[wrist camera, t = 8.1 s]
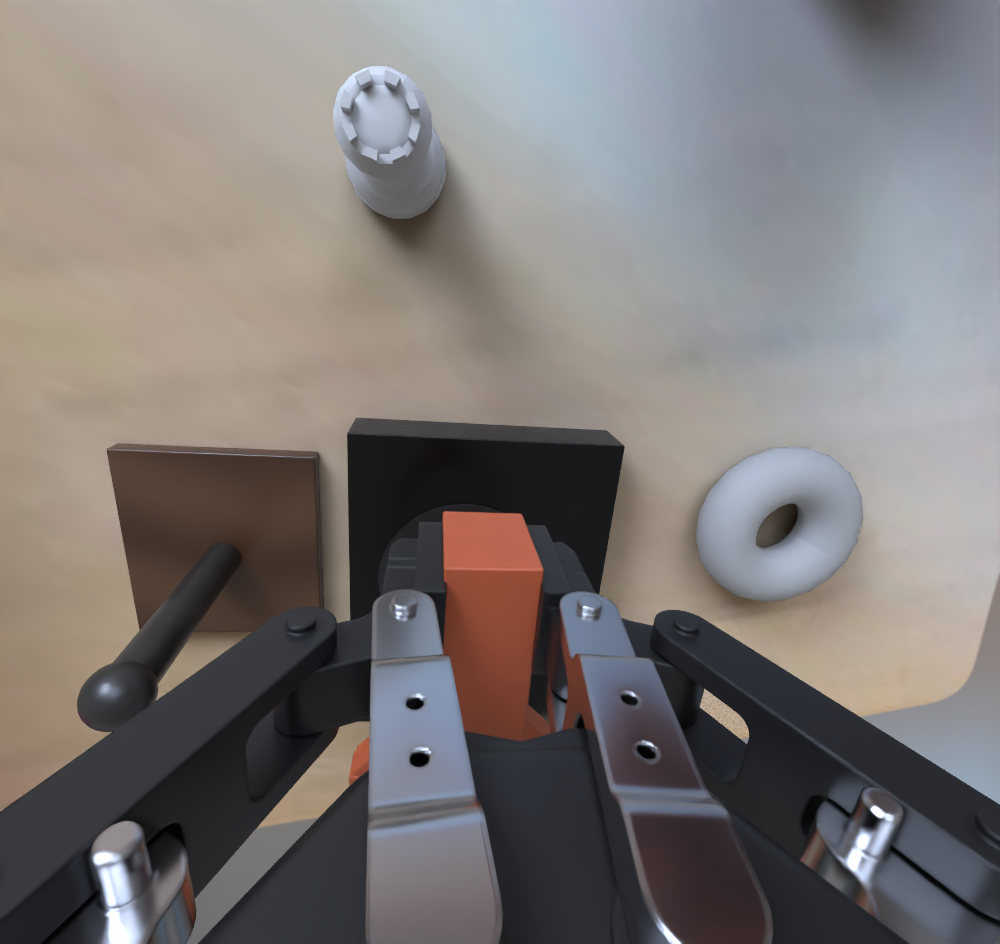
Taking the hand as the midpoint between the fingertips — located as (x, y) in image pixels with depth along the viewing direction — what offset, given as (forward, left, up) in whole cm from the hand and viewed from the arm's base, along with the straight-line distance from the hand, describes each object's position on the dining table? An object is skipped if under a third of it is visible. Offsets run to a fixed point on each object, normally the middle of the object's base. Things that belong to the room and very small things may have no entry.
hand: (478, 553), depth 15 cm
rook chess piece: (-12, -3, -15) cm, 19 cm away
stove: (+10, +3, -15) cm, 18 cm away
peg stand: (+8, -12, -15) cm, 21 cm away
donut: (+5, +20, -15) cm, 25 cm away
